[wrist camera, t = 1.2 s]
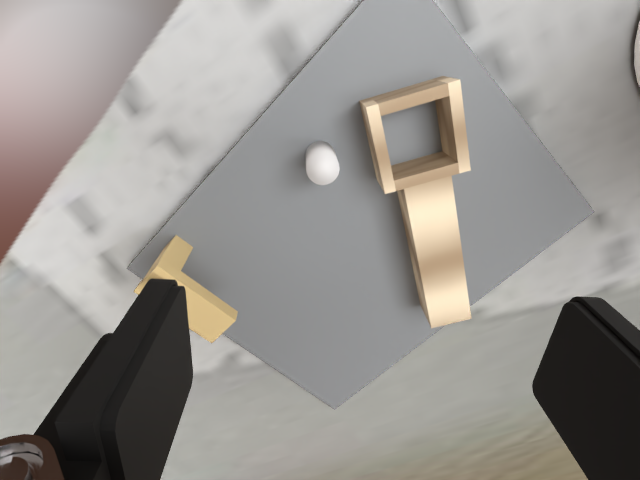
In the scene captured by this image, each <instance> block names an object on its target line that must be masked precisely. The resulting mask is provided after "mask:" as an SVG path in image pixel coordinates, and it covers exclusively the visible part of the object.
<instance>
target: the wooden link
mask: <svg viewBox="0 0 640 480" xmlns="http://www.w3.org/2000/svg"><path fill="white" fill-rule="evenodd" d="M434 100H435V103H436V110H437V117H438V124H439V130H440V137H441V144H442V151H441V152H437V153H434V154H430V155H427V156H423V157H420V158H416V159H413V160H409V161H406V162H402V163H399V164H395V165H391V164H390V159H389V154H388V149H387V145H386V140H385V135H384V130H383V125H382V120H381V116H383V115H386V114H389V113H393V112H396V111H400V110H403V109H407V108H410V107H413V106H417V105H420V104H424V103H427V102H430V101H434ZM359 103H360V107H361V111H362V116H363V120H364V125H365V129H366V134H367V138H368V143H369V147H370V151H371V156H372V160H373V165H374V169H375V174H376V178H377V181H378V183H379V184H380V186H381V188H382V190H383V191H384V193H385V194H387V193H391V192H395V191H397V193H398V198H399V203H400V208H401V212H402V217H403V222H404V227H405V232H406V237H407V242H408V247H409V252H410V256H411V261H412V266H413V271H414V276H415V281H416V286H417V291H418V295H419V300H420V305H421V307H422V309H423V312H424V314H425V316H426V318H427V320H428V322H429V325H430V327H431V328H435V327H439V326H443V325H447V324H451V323H455V322H459V321H463V320H467V319H471V312H470V305H469V298H468V290H467V283H466V276H465V269H464V262H463V254H462V247H461V240H460V233H459V226H458V218H457V211H456V204H455V197H454V190H453V183H452V175H456V174H459V173H463V172H467V171H470V170H471V167H470V159H469V150H468V142H467V133H466V124H465V116H464V107H463V99H462V90H461V82H460V79H456V78H451V77H446V76H441V77H437V78H434V79H431V80H427V81H424V82H421V83H417V84H414V85H411V86H407V87H404V88H400V89H397V90H394V91H390V92H387V93H384V94H380V95H377V96H374V97H370V98H367V99H363V100H360V101H359Z"/></svg>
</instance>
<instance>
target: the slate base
mask: <svg viewBox="0 0 640 480" xmlns="http://www.w3.org/2000/svg"><path fill="white" fill-rule="evenodd" d="M441 76H446V77H451V78H456V79H460V82H461V90H462V99H463V107H464V116H465V124H466V133H467V142H468V150H469V159H470V167H471V170H470V171H467V172H463V173H459V174H456V175H452V183H453V190H454V197H455V204H456V211H457V218H458V226H459V233H460V240H461V247H462V254H463V262H464V269H465V276H466V283H467V290H468V298H469V305H470V306H471V305H473V304H474V303H475V302H477V301H478V300H479V299H481V298H482V297H483V296H484V295H486V294H487V293H488V292H490V291H491V290H492V289H494V288H495V287H496V286H498V285H499V284H500V283H502V282H503V281H504V280H505V279H507V278H508V277H509V276H511V275H512V274H513V273H515V272H516V271H517V270H519V269H520V268H521V267H523V266H524V265H525V264H526V263H528V262H529V261H530V260H532V259H533V258H534V257H536V256H537V255H538V254H540V253H541V252H542V251H544V250H545V249H546V248H548V247H549V246H550V245H551V244H553V243H554V242H555V241H557V240H558V239H559V238H561V237H562V236H563V235H565V234H566V233H567V232H569V231H570V230H571V229H572V228H574V227H575V226H576V225H578V224H579V223H580V222H582V221H583V220H584V219H586V218H587V217H588V216H590V215H591V214H592V213H594V210H593V209H592V208H591V206H590V205H589V204H588V203H587V201H586V200H585V199H584V197H583V196H582V195H581V193H580V192H579V191H578V189H577V188H576V187H575V186H574V184H573V183H572V182H571V180H570V179H569V178H568V176H567V175H566V174H565V172H564V171H563V170H562V168H561V167H560V166H559V165H558V163H557V162H556V161H555V159H554V158H553V157H552V155H551V154H550V153H549V151H548V150H547V149H546V148H545V146H544V145H543V144H542V142H541V141H540V140H539V138H538V137H537V136H536V134H535V133H534V132H533V131H532V129H531V128H530V127H529V125H528V124H527V123H526V121H525V120H524V119H523V117H522V116H521V115H520V113H519V112H518V111H517V110H516V108H515V107H514V106H513V104H512V103H511V102H510V100H509V99H508V98H507V96H506V95H505V94H504V93H503V91H502V90H501V89H500V87H499V86H498V85H497V83H496V82H495V81H494V79H493V78H492V77H491V76H490V74H489V73H488V72H487V70H486V69H485V68H484V66H483V65H482V64H481V62H480V61H479V60H478V58H477V57H476V56H475V55H474V53H473V52H472V51H471V49H470V48H469V47H468V45H467V44H466V43H465V41H464V40H463V39H462V38H461V36H460V35H459V34H458V32H457V31H456V30H455V28H454V27H453V26H452V24H451V23H450V22H449V21H448V19H447V18H446V17H445V15H444V14H443V13H442V11H441V10H440V9H439V7H438V6H437V5H436V3H435V2H434V1H433V0H363V1H362V2H361V3H360V4H359V5H358V7H357V8H356V9H355V10H354V11H353V12H352V13H351V15H350V16H349V17H348V18H347V19H346V20H345V21H344V22H343V24H342V25H341V26H340V27H339V28H338V29H337V30H336V32H335V33H334V34H333V35H332V36H331V37H330V38H329V39H328V41H327V42H326V43H325V44H324V45H323V46H322V47H321V48H320V50H319V51H318V52H317V53H316V54H315V55H314V56H313V58H312V59H311V60H310V61H309V62H308V63H307V64H306V65H305V67H304V68H303V69H302V70H301V71H300V72H299V73H298V75H297V76H296V77H295V78H294V79H293V80H292V81H291V82H290V84H289V85H288V86H287V87H286V88H285V89H284V90H283V91H282V93H281V94H280V95H279V96H278V97H277V98H276V99H275V101H274V102H273V103H272V104H271V105H270V106H269V107H268V108H267V110H266V111H265V112H264V113H263V114H262V115H261V116H260V118H259V119H258V120H257V121H256V122H255V123H254V124H253V125H252V127H251V128H250V129H249V130H248V131H247V132H246V133H245V134H244V136H243V137H242V138H241V139H240V140H239V141H238V142H237V144H236V145H235V146H234V147H233V148H232V149H231V150H230V151H229V153H228V154H227V155H226V156H225V157H224V158H223V159H222V161H221V162H220V163H219V164H218V165H217V166H216V167H215V168H214V170H213V171H212V172H211V173H210V174H209V175H208V176H207V177H206V179H205V180H204V181H203V182H202V183H201V184H200V185H199V187H198V188H197V189H196V190H195V191H194V192H193V193H192V194H191V196H190V197H189V198H188V199H187V200H186V201H185V202H184V204H183V205H182V206H181V207H180V208H179V209H178V210H177V211H176V213H175V214H174V215H173V216H172V217H171V218H170V219H169V220H168V222H167V223H166V224H165V225H164V226H163V227H162V228H161V230H160V231H159V232H158V233H157V234H156V235H155V236H154V237H153V239H152V240H151V241H150V242H149V243H148V244H147V245H146V247H145V248H144V249H143V250H142V251H141V252H140V253H139V254H138V256H137V257H136V258H135V259H134V260H133V261H132V262H131V264H130V265H129V266H128V268H127V269H128V270H130V271H131V272H133V273H134V274H136V275H137V276H138V277H140V278H141V279H143V280H142V281H141V282H140V283H139V284H138V286H137V287H136V289H135V290H134V292H135V293H136V294H138V295H139V294H140V292H141V291H142V289H143V288H144V286H145V285H146V283H147V282H148V281H149V280H150V279H173V280H176V281H177V284H178V286H184V287H185V291H186V300H187V312H188V323H189V329H191V330H192V331H194V332H195V333H197V334H198V335H200V336H201V337H203V338H204V339H206V340H207V341H209V342H211V343H213V342H214V341H215V340H216V339H217V338H218V337H219V336H220V335H221V334H224V335H225V336H227V337H228V338H230V339H231V340H233V341H234V342H236V343H237V344H239V345H240V346H242V347H243V348H245V349H246V350H247V351H249V352H250V353H252V354H253V355H255V356H256V357H258V358H259V359H261V360H262V361H264V362H265V363H267V364H268V365H270V366H271V367H273V368H274V369H275V370H277V371H278V372H280V373H281V374H283V375H284V376H286V377H287V378H289V379H290V380H292V381H293V382H295V383H296V384H298V385H299V386H301V387H302V388H303V389H305V390H306V391H308V392H309V393H311V394H312V395H314V396H315V397H317V398H318V399H320V400H321V401H323V402H324V403H326V404H327V405H329V406H330V407H331V408H333V409H334V410H335V409H336V408H337V407H339V406H340V405H341V404H343V403H344V402H345V401H346V400H348V399H349V398H350V397H352V396H353V395H354V394H356V393H357V392H358V391H360V390H361V389H362V388H364V387H365V386H366V385H368V384H369V383H370V382H371V381H373V380H374V379H375V378H377V377H378V376H379V375H381V374H382V373H383V372H385V371H386V370H387V369H389V368H390V367H391V366H392V365H394V364H395V363H396V362H398V361H399V360H400V359H402V358H403V357H404V356H406V355H407V354H408V353H410V352H411V351H412V350H414V349H415V348H416V347H417V346H419V345H420V344H421V343H423V342H424V341H425V340H427V339H428V338H429V337H431V336H432V335H433V334H435V333H436V332H437V331H438V330H440V329H441V328H442V327H444V326H445V325H443V326H439V327H435V328H431V327H430V325H429V322H428V320H427V318H426V316H425V314H424V312H423V309H422V307H421V305H420V300H419V295H418V291H417V286H416V281H415V276H414V271H413V266H412V261H411V256H410V252H409V247H408V242H407V237H406V232H405V227H404V222H403V217H402V212H401V208H400V203H399V198H398V193H397V191H395V192H391V193H387V194H385V193H384V191H383V190H382V188H381V186H380V184H379V183H378V181H377V178H376V174H375V169H374V165H373V160H372V156H371V151H370V147H369V143H368V138H367V134H366V129H365V125H364V120H363V116H362V111H361V107H360V103H359V101H360V100H363V99H367V98H370V97H374V96H377V95H380V94H384V93H387V92H390V91H394V90H397V89H400V88H404V87H407V86H411V85H414V84H417V83H421V82H424V81H427V80H431V79H434V78H437V77H441ZM381 120H382V125H383V130H384V135H385V140H386V145H387V149H388V154H389V159H390V164H391V165H395V164H399V163H402V162H406V161H409V160H413V159H416V158H420V157H423V156H427V155H430V154H434V153H437V152H441V151H442V144H441V137H440V130H439V124H438V117H437V110H436V103H435V100H434V101H430V102H427V103H424V104H420V105H417V106H413V107H410V108H407V109H403V110H400V111H396V112H393V113H389V114H386V115H383V116H381Z"/></svg>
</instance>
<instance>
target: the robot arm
mask: <svg viewBox="0 0 640 480" xmlns="http://www.w3.org/2000/svg"><path fill="white" fill-rule="evenodd" d="M634 66H635V72H636V77H637V82H638V84H639V87H640V22H639V25H638V30H637V35H636V40H635V49H634ZM192 379H193V367H192V356H191V345H190V334H189V323H188V312H187V300H186V291H185V287H184V286H178V284H177V281H176V280H173V279H150V280H149V281H148V282H147V283H146V285H145V286H144V288H143V289H142V291H141V292H140V294H139V295H138V297H137V298H136V300H135V301H134V303H133V304H132V306H131V307H130V309H129V310H128V312H127V313H126V315H125V316H124V318H123V319H122V321H121V322H120V324H119V325H118V327H117V328H116V330H115V331H114V333H108V334H105V335H104V336H103V337H102V338H101V339H100V340H99V341H98V343H97V344H96V346H95V347H94V349H93V350H92V351H91V353H90V354H89V356H88V357H87V359H86V360H85V361H84V363H83V364H82V366H81V367H80V369H79V370H78V371H77V373H76V374H75V376H74V377H73V379H72V380H71V382H70V383H69V384H68V386H67V387H66V389H65V390H64V392H63V393H62V394H61V396H60V397H59V399H58V400H57V402H56V403H55V405H54V406H53V407H52V409H51V410H50V412H49V413H48V415H47V416H46V417H45V419H44V420H43V422H42V423H41V425H40V426H39V428H38V429H37V430H36V432H35V433H34V435H29V434H22V435H16V436H9V437H6V438H3V439H0V480H160V478H161V475H162V472H163V469H164V466H165V463H166V460H167V457H168V454H169V451H170V448H171V445H172V442H173V439H174V436H175V433H176V430H177V427H178V424H179V421H180V418H181V415H182V412H183V409H184V406H185V403H186V400H187V397H188V394H189V391H190V389H191V385H192ZM532 388H533V393H534V396H535V398H536V399H537V401H538V402H539V404H540V405H541V407H542V408H543V410H544V412H545V413H546V415H547V416H548V418H549V419H550V421H551V422H552V424H553V425H554V427H555V429H556V430H557V432H558V433H559V435H560V436H561V438H562V439H563V441H564V442H565V444H566V446H567V447H568V449H569V450H570V452H571V453H572V455H573V456H574V458H575V460H576V461H577V463H578V464H579V466H580V467H581V469H582V470H583V472H584V473H585V475H586V477H587V478H588V480H640V331H639V330H638V329H637V328H636V327H635V326H634V325H632V324H631V323H630V322H629V321H628V320H627V319H626V318H624V317H623V316H622V315H621V314H620V313H619V312H617V311H616V310H615V309H614V308H613V307H612V306H611V305H609V304H608V303H607V302H606V301H605V300H603V299H601V298H596V297H574V298H572V299H571V300H570V301H569V302H568V303H566V304H564V306H563V308H562V310H561V313H560V315H559V318H558V320H557V323H556V325H555V328H554V330H553V333H552V335H551V338H550V340H549V343H548V345H547V348H546V350H545V353H544V355H543V358H542V360H541V363H540V365H539V368H538V370H537V373H536V375H535V378H534V380H533V385H532Z"/></svg>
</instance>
